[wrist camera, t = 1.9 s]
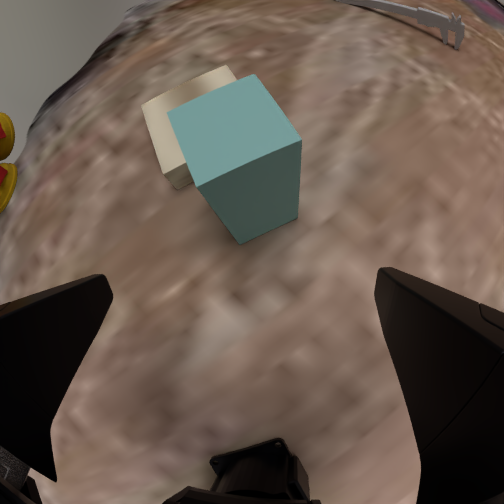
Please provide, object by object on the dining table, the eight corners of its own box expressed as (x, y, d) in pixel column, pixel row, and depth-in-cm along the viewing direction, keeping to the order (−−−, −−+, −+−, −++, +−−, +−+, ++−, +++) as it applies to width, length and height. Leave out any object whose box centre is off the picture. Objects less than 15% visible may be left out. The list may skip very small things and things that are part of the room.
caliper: (456, 49, 25) (469, 20, 19) (456, 52, 25) (470, 23, 18) (329, -3, 29) (330, -34, 23) (326, -1, 29) (327, -33, 23)
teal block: (239, 245, 23) (196, 187, 12) (216, 192, 24) (166, 112, 13) (297, 217, 22) (301, 139, 12) (270, 167, 24) (254, 73, 13)
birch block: (178, 191, 25) (163, 174, 21) (155, 124, 27) (141, 105, 23) (270, 148, 24) (267, 125, 21) (232, 87, 27) (226, 65, 23)
